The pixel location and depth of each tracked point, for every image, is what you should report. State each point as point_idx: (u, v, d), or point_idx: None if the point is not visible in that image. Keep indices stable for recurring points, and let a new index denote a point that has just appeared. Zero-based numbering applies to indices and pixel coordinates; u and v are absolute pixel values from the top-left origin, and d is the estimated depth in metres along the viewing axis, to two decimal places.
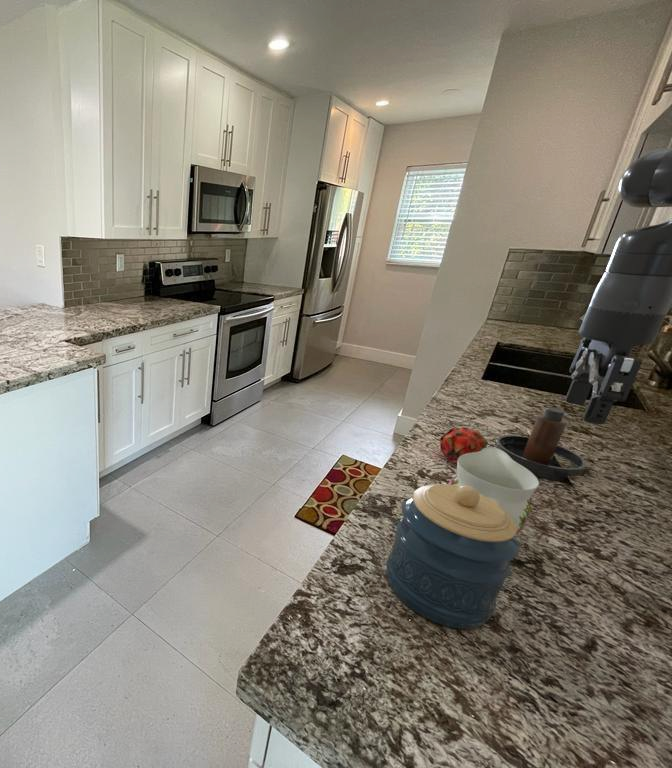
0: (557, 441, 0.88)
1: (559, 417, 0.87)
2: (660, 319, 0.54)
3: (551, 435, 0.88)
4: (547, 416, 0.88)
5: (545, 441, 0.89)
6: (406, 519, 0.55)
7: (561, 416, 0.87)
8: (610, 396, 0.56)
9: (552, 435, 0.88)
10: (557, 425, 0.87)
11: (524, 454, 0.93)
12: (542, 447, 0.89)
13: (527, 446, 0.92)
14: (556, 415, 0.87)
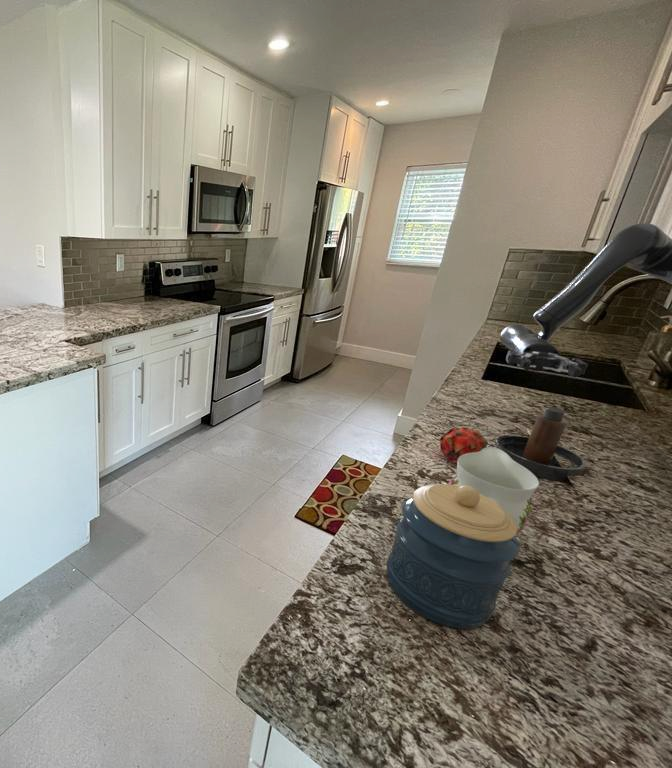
0: (557, 441, 0.88)
1: (559, 417, 0.87)
2: (527, 342, 1.07)
3: (551, 435, 0.88)
4: (547, 416, 0.88)
5: (545, 441, 0.89)
6: (406, 519, 0.55)
7: (561, 416, 0.87)
8: (509, 360, 1.02)
9: (552, 435, 0.88)
10: (557, 425, 0.87)
11: (524, 454, 0.93)
12: (542, 447, 0.89)
13: (527, 446, 0.92)
14: (556, 415, 0.87)
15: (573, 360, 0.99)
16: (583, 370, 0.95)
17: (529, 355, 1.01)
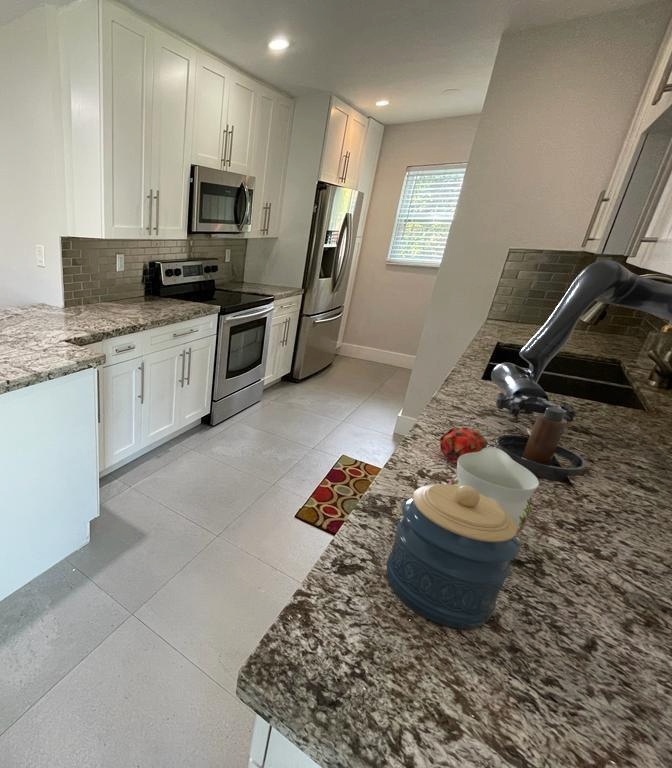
0: (557, 441, 0.88)
1: (559, 417, 0.87)
2: (517, 385, 1.08)
3: (551, 435, 0.88)
4: (547, 416, 0.88)
5: (545, 441, 0.89)
6: (406, 519, 0.55)
7: (561, 416, 0.87)
8: (498, 404, 1.03)
9: (552, 435, 0.88)
10: (557, 425, 0.87)
11: (524, 454, 0.93)
12: (542, 447, 0.89)
13: (527, 446, 0.92)
14: (556, 415, 0.87)
15: (562, 406, 0.99)
16: (571, 417, 0.96)
17: (518, 400, 1.01)
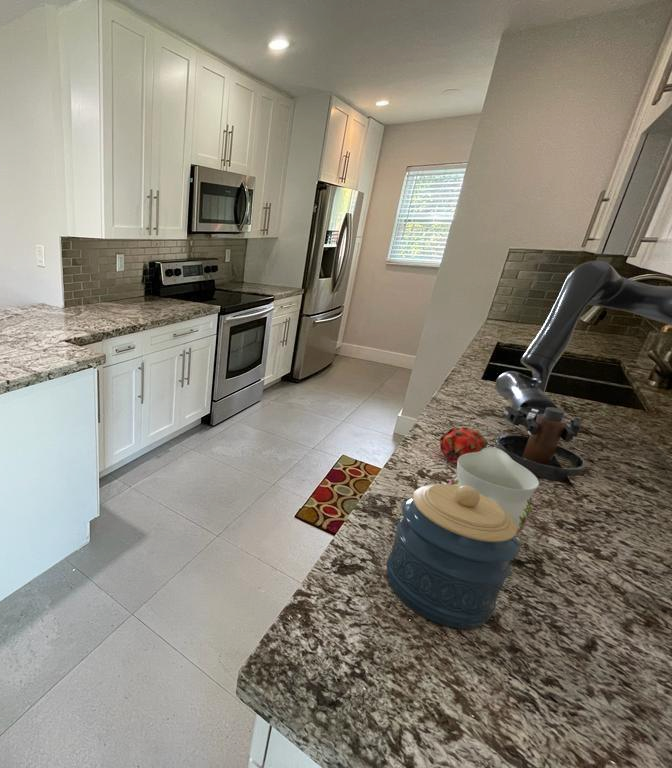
0: (557, 441, 0.88)
1: (559, 417, 0.87)
2: (524, 396, 1.01)
3: (551, 435, 0.88)
4: (547, 416, 0.88)
5: (545, 441, 0.89)
6: (406, 519, 0.55)
7: (561, 416, 0.87)
8: (514, 420, 0.94)
9: (552, 434, 0.88)
10: (557, 425, 0.87)
11: (524, 454, 0.93)
12: (542, 447, 0.89)
13: (527, 446, 0.92)
14: (555, 415, 0.87)
15: (572, 420, 0.92)
16: (575, 432, 0.89)
17: (533, 415, 0.93)
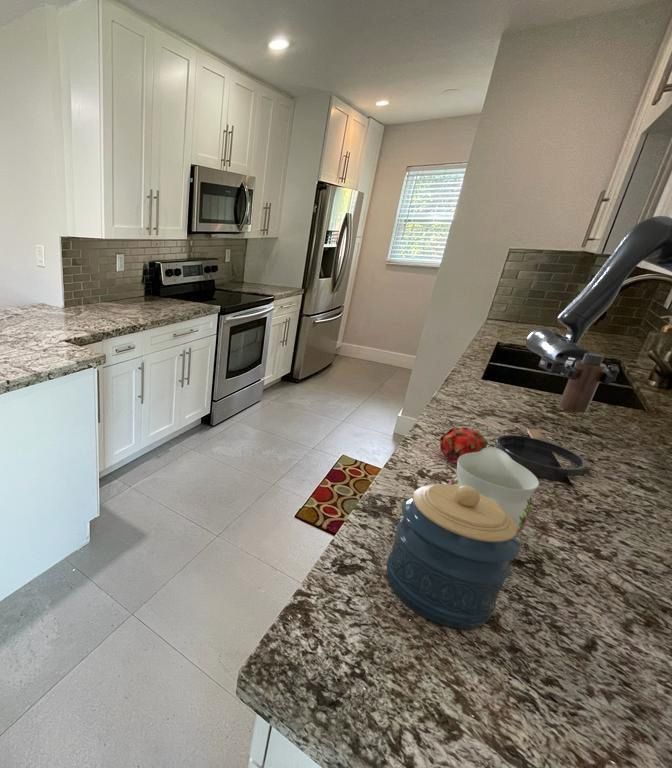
0: (596, 385, 0.91)
1: (598, 361, 0.89)
2: (559, 347, 1.03)
3: (590, 379, 0.90)
4: (586, 361, 0.91)
5: (584, 385, 0.91)
6: (406, 519, 0.55)
7: (600, 360, 0.89)
8: (551, 368, 0.96)
9: (591, 378, 0.90)
10: (596, 368, 0.89)
11: (562, 400, 0.95)
12: (581, 392, 0.92)
13: (565, 392, 0.94)
14: (595, 359, 0.89)
15: (609, 367, 0.94)
16: (613, 377, 0.91)
17: (570, 362, 0.95)
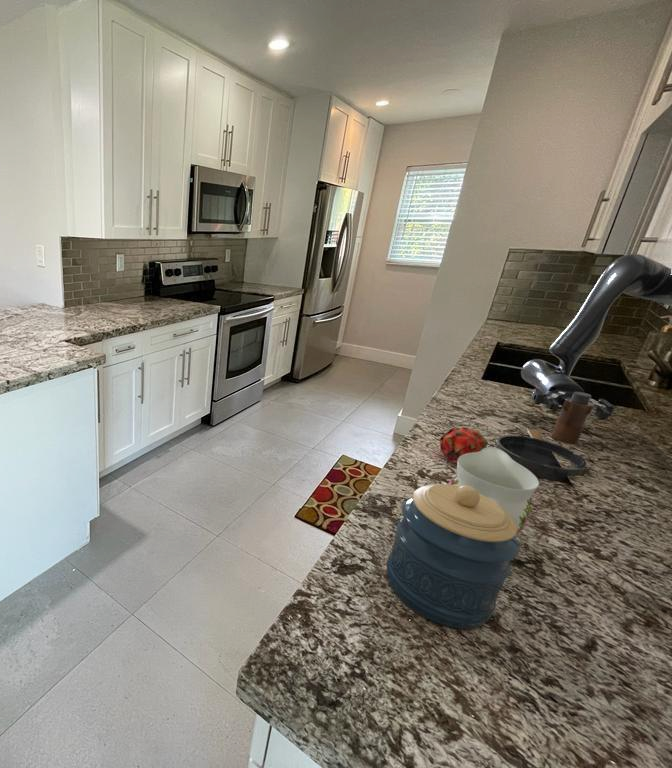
0: (584, 422, 0.97)
1: (586, 400, 0.95)
2: (552, 380, 1.09)
3: (578, 417, 0.96)
4: (575, 400, 0.97)
5: (573, 422, 0.97)
6: (406, 519, 0.55)
7: (588, 399, 0.95)
8: (535, 400, 1.04)
9: (579, 416, 0.96)
10: (584, 407, 0.95)
11: (552, 435, 1.01)
12: (569, 428, 0.98)
13: (555, 428, 1.01)
14: (583, 399, 0.96)
15: (600, 401, 1.00)
16: (610, 412, 0.97)
17: (556, 396, 1.02)
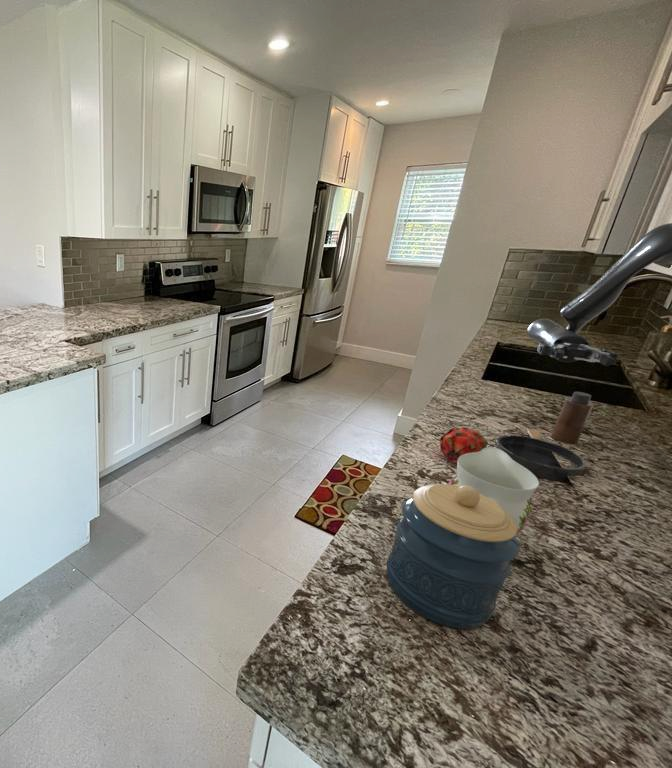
0: (584, 422, 0.97)
1: (586, 400, 0.95)
2: (557, 335, 1.12)
3: (578, 417, 0.96)
4: (575, 400, 0.97)
5: (573, 422, 0.97)
6: (406, 519, 0.55)
7: (588, 399, 0.95)
8: (541, 351, 1.07)
9: (579, 416, 0.96)
10: (584, 407, 0.95)
11: (552, 435, 1.01)
12: (569, 428, 0.98)
13: (555, 428, 1.01)
14: (583, 399, 0.96)
15: (604, 351, 1.04)
16: (614, 360, 1.00)
17: (561, 346, 1.05)
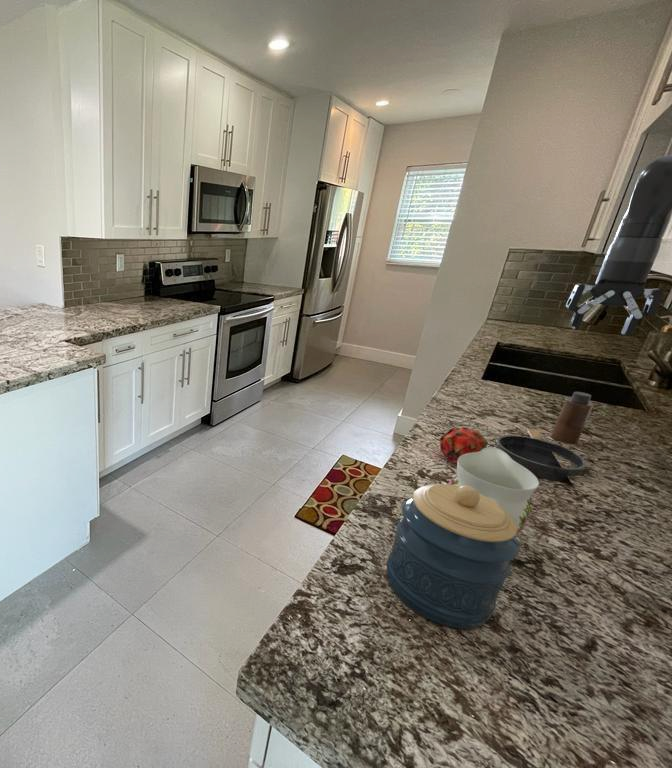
0: (584, 422, 0.97)
1: (586, 400, 0.95)
2: (616, 264, 0.89)
3: (578, 417, 0.96)
4: (575, 400, 0.97)
5: (573, 422, 0.97)
6: (406, 519, 0.55)
7: (588, 399, 0.95)
8: (566, 306, 0.97)
9: (579, 416, 0.96)
10: (584, 407, 0.95)
11: (552, 435, 1.01)
12: (569, 428, 0.98)
13: (555, 428, 1.01)
14: (583, 399, 0.96)
15: (651, 297, 0.89)
16: None
17: (591, 306, 0.94)
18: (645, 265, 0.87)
